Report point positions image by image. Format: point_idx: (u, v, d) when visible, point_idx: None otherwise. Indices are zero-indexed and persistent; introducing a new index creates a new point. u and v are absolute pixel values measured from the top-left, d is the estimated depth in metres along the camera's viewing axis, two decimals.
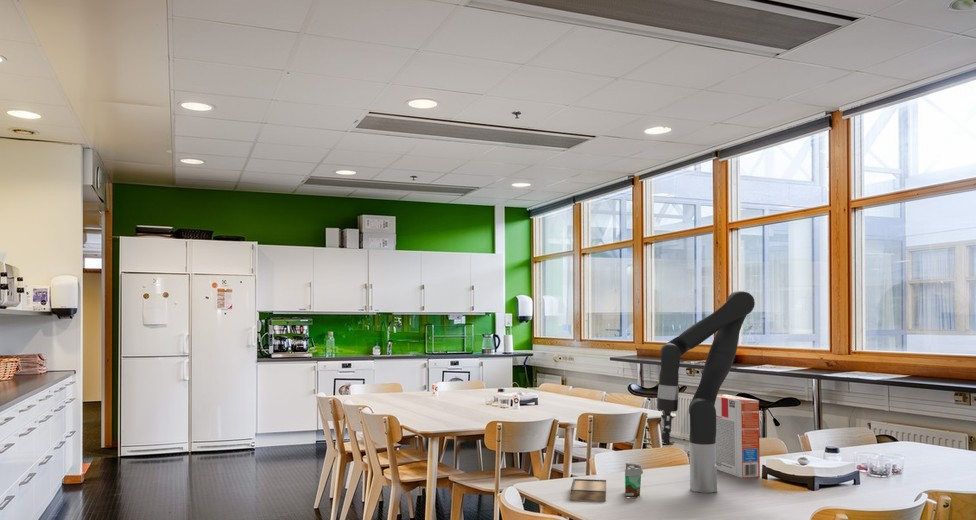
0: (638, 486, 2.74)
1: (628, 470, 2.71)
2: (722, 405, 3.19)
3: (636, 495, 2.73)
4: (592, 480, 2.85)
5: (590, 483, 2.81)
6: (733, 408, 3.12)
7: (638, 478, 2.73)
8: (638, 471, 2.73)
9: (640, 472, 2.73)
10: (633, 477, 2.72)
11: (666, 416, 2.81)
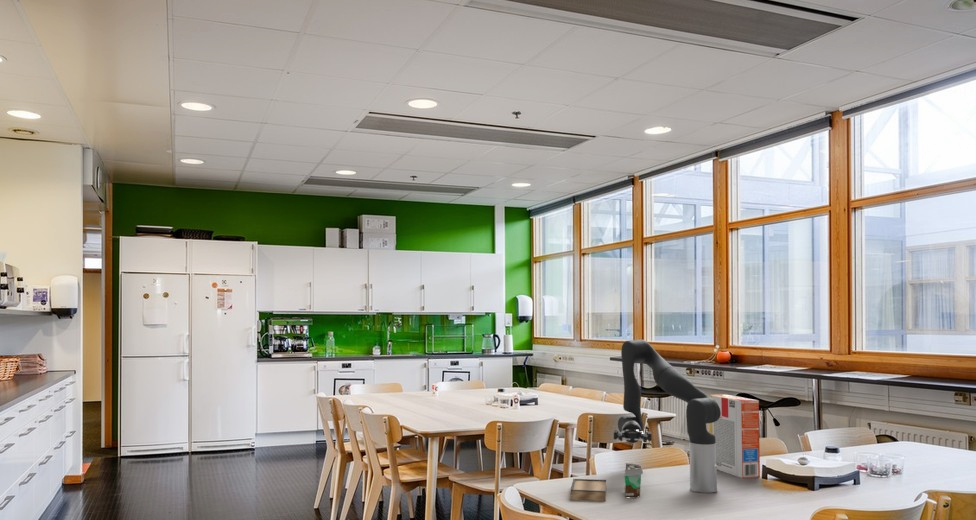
0: (638, 486, 2.74)
1: (628, 470, 2.71)
2: (722, 405, 3.19)
3: (636, 495, 2.73)
4: (592, 480, 2.85)
5: (590, 483, 2.81)
6: (733, 408, 3.12)
7: (638, 478, 2.73)
8: (638, 471, 2.73)
9: (640, 472, 2.73)
10: (633, 477, 2.72)
11: None
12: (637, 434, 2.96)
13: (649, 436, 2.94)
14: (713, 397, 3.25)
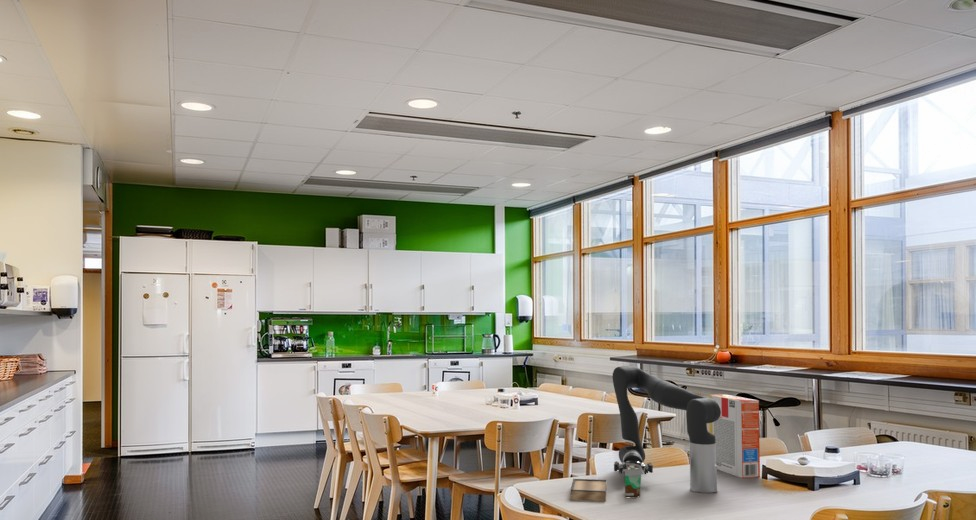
0: (638, 486, 2.74)
1: (628, 470, 2.71)
2: (722, 405, 3.19)
3: (636, 495, 2.73)
4: (592, 480, 2.85)
5: (590, 483, 2.81)
6: (733, 408, 3.12)
7: (638, 478, 2.73)
8: (638, 471, 2.73)
9: (640, 472, 2.73)
10: (633, 477, 2.72)
11: None
12: None
13: (650, 468, 2.89)
14: (713, 397, 3.25)
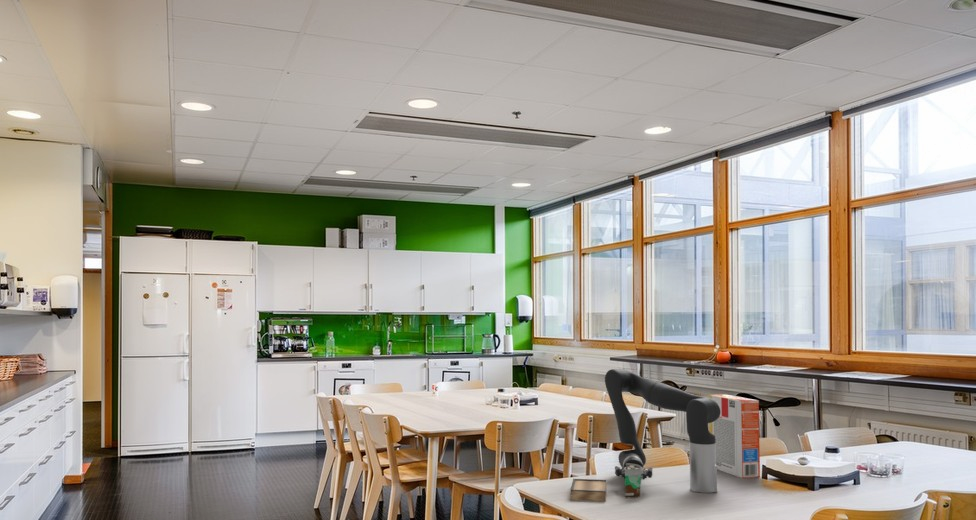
0: (638, 486, 2.74)
1: (628, 470, 2.72)
2: (722, 405, 3.19)
3: (636, 495, 2.73)
4: (592, 480, 2.85)
5: (590, 483, 2.81)
6: (733, 408, 3.12)
7: (638, 478, 2.73)
8: (638, 471, 2.73)
9: (640, 472, 2.73)
10: (633, 477, 2.72)
11: None
12: None
13: (648, 473, 2.80)
14: (713, 397, 3.25)
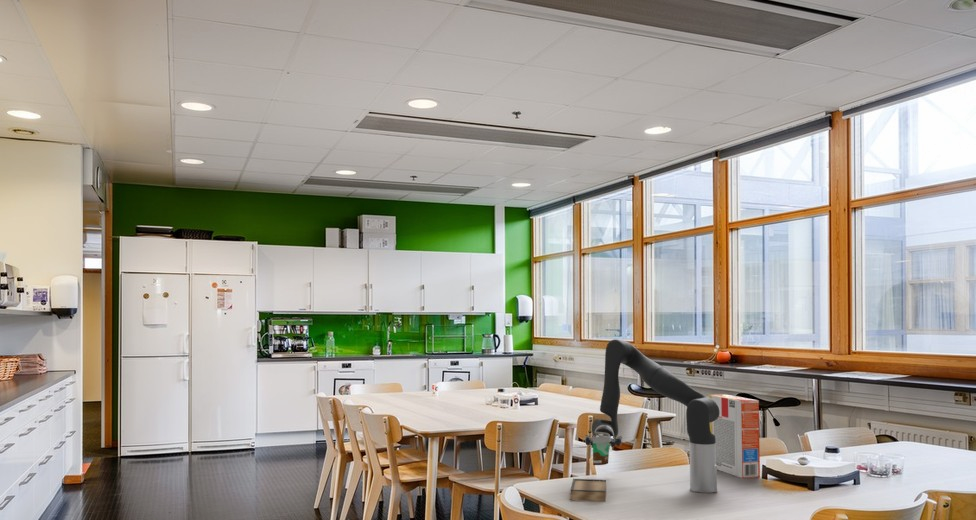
0: (606, 454, 2.75)
1: (596, 438, 2.73)
2: (722, 405, 3.19)
3: (604, 462, 2.75)
4: (592, 480, 2.85)
5: (590, 483, 2.81)
6: (733, 408, 3.12)
7: (606, 446, 2.75)
8: (606, 439, 2.74)
9: (608, 440, 2.75)
10: (601, 445, 2.74)
11: None
12: None
13: (617, 441, 2.82)
14: (713, 397, 3.25)
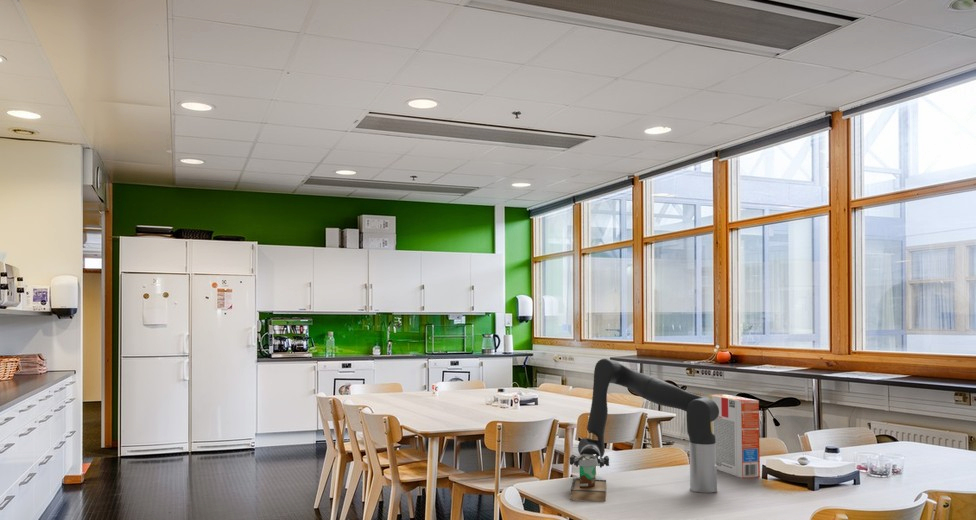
0: (593, 477, 2.74)
1: (582, 461, 2.72)
2: (722, 405, 3.19)
3: (590, 485, 2.74)
4: None
5: None
6: (733, 408, 3.12)
7: (593, 469, 2.74)
8: (592, 462, 2.74)
9: (595, 463, 2.74)
10: (587, 468, 2.73)
11: None
12: None
13: (606, 461, 2.81)
14: (713, 397, 3.25)
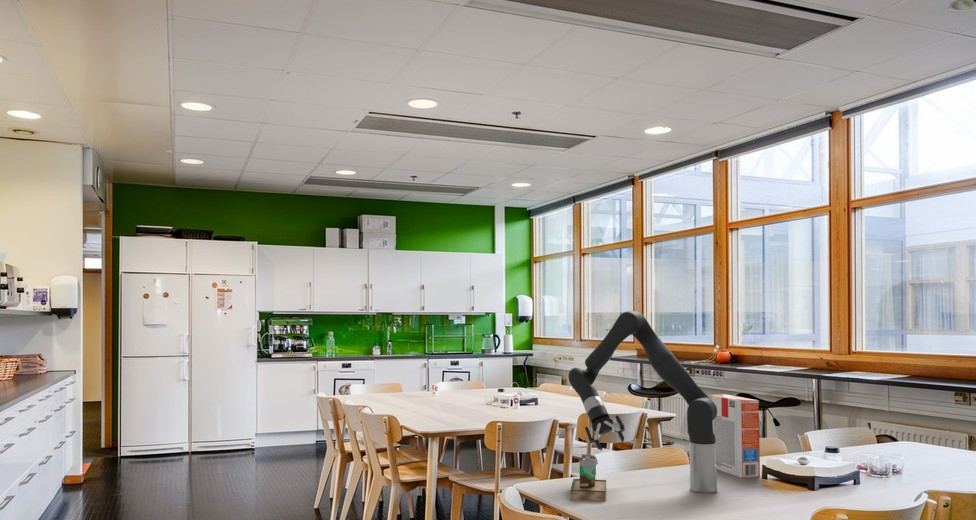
0: (593, 477, 2.74)
1: (582, 461, 2.72)
2: (722, 405, 3.19)
3: (590, 486, 2.74)
4: None
5: None
6: (733, 408, 3.12)
7: (593, 469, 2.74)
8: (592, 462, 2.74)
9: (595, 463, 2.74)
10: (587, 468, 2.73)
11: None
12: (610, 428, 2.95)
13: (623, 429, 2.94)
14: (713, 397, 3.25)
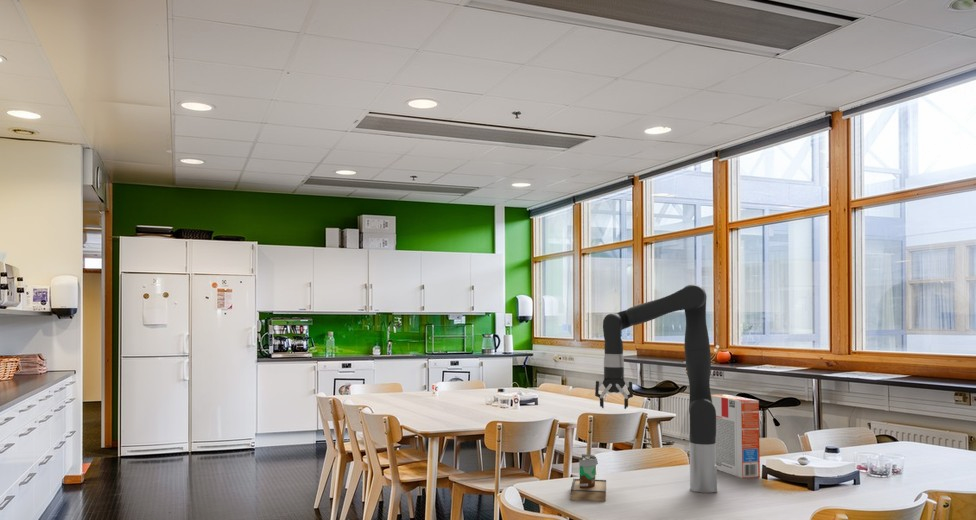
0: (593, 477, 2.74)
1: (582, 461, 2.72)
2: (722, 405, 3.19)
3: (590, 485, 2.74)
4: None
5: None
6: (733, 408, 3.12)
7: (593, 469, 2.74)
8: (592, 462, 2.74)
9: (595, 463, 2.74)
10: (587, 468, 2.73)
11: (596, 381, 2.99)
12: (618, 391, 2.96)
13: (630, 397, 2.96)
14: (713, 397, 3.25)
